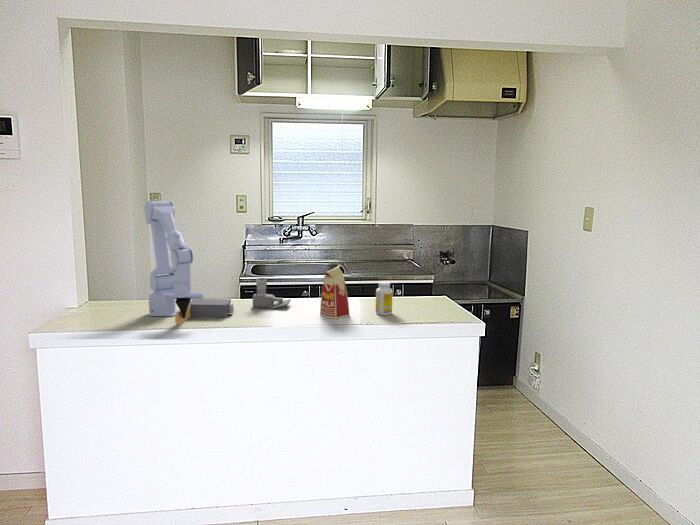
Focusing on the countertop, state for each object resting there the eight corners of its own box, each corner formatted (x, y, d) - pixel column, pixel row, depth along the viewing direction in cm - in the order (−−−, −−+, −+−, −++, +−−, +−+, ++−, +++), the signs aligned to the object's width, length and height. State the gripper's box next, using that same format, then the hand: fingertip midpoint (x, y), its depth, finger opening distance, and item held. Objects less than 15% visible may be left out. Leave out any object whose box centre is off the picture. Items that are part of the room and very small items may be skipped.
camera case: (187, 317, 205) (187, 304, 204) (193, 311, 213) (193, 298, 213) (231, 317, 205) (230, 304, 204) (235, 311, 214) (234, 299, 213)
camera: (255, 276, 225) (291, 278, 224) (255, 303, 227) (290, 305, 226) (251, 281, 216) (287, 282, 216) (251, 309, 218) (287, 310, 218)
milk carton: (334, 311, 217) (335, 263, 213) (350, 316, 210) (351, 266, 207) (317, 315, 210) (318, 265, 207) (333, 320, 204) (334, 269, 200)
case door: (187, 316, 204) (187, 304, 204) (191, 316, 204) (190, 304, 203) (175, 324, 193) (174, 312, 192) (178, 325, 193) (178, 312, 192)
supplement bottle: (394, 312, 216) (395, 281, 214) (388, 316, 211) (389, 284, 208) (379, 310, 219) (379, 280, 217) (372, 314, 213) (373, 282, 211)
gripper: (158, 283, 188) (160, 320, 190) (200, 284, 189) (201, 321, 191) (164, 279, 195) (166, 315, 197) (204, 280, 196) (205, 315, 198)
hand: (184, 317), depth 195 cm, fingers closed
